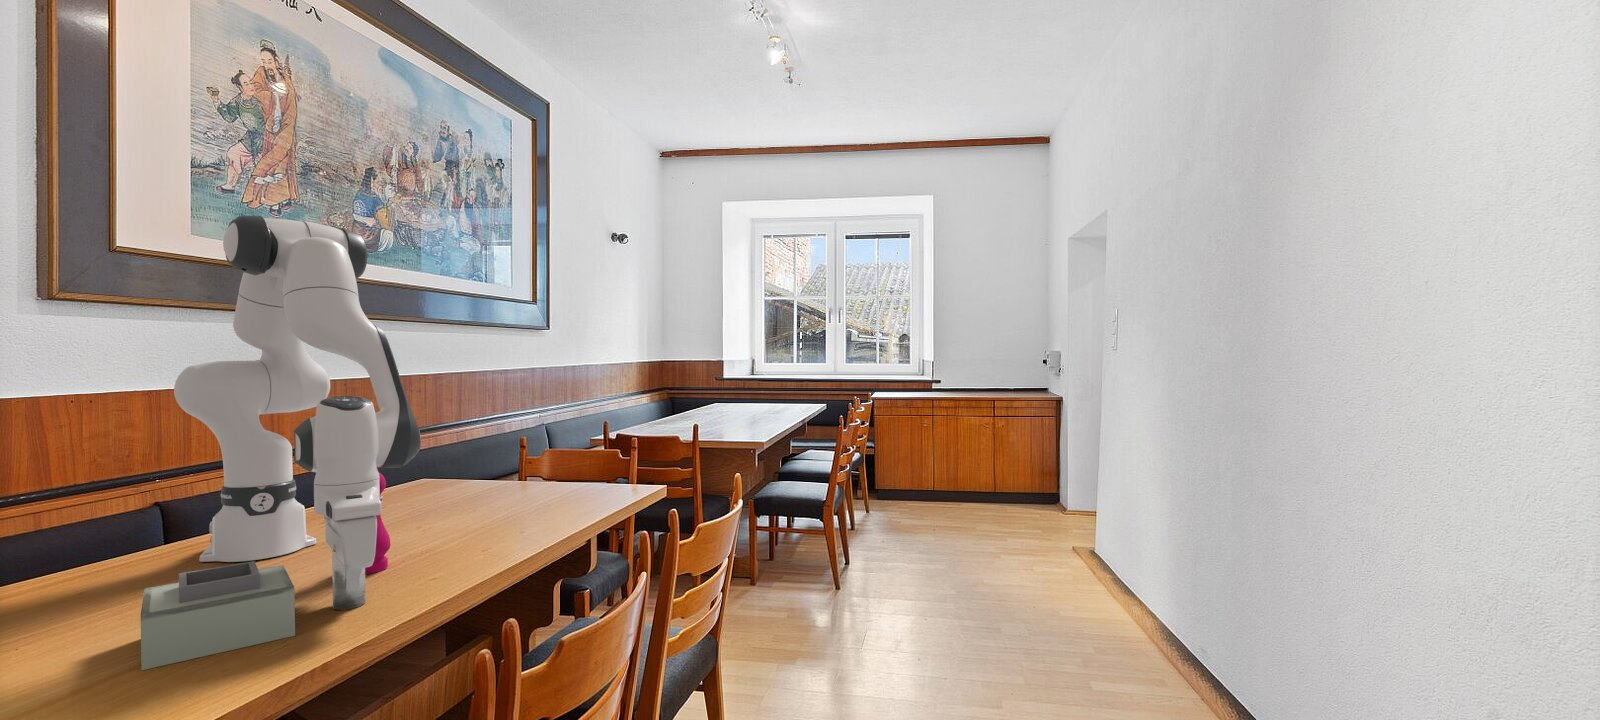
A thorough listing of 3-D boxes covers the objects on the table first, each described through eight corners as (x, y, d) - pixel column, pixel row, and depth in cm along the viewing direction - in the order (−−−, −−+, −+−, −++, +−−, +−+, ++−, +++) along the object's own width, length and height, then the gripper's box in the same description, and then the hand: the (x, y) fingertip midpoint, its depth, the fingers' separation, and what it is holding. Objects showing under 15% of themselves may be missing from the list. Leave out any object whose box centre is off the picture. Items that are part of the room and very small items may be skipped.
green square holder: (145, 637, 100) (144, 574, 100) (284, 608, 110) (283, 552, 110) (141, 670, 89) (140, 600, 89) (295, 635, 100) (294, 573, 100)
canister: (330, 604, 112) (329, 532, 112) (362, 598, 115) (361, 527, 115) (335, 612, 109) (334, 537, 109) (367, 605, 112) (367, 532, 112)
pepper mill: (369, 576, 126) (367, 466, 126) (335, 574, 127) (333, 465, 127) (399, 564, 133) (398, 460, 133) (367, 562, 134) (365, 459, 134)
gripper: (314, 491, 117) (315, 573, 118) (334, 512, 102) (336, 606, 102) (358, 486, 122) (359, 565, 122) (383, 505, 106) (385, 595, 106)
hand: (348, 584), depth 112 cm, fingers closed on canister, 4 cm apart
